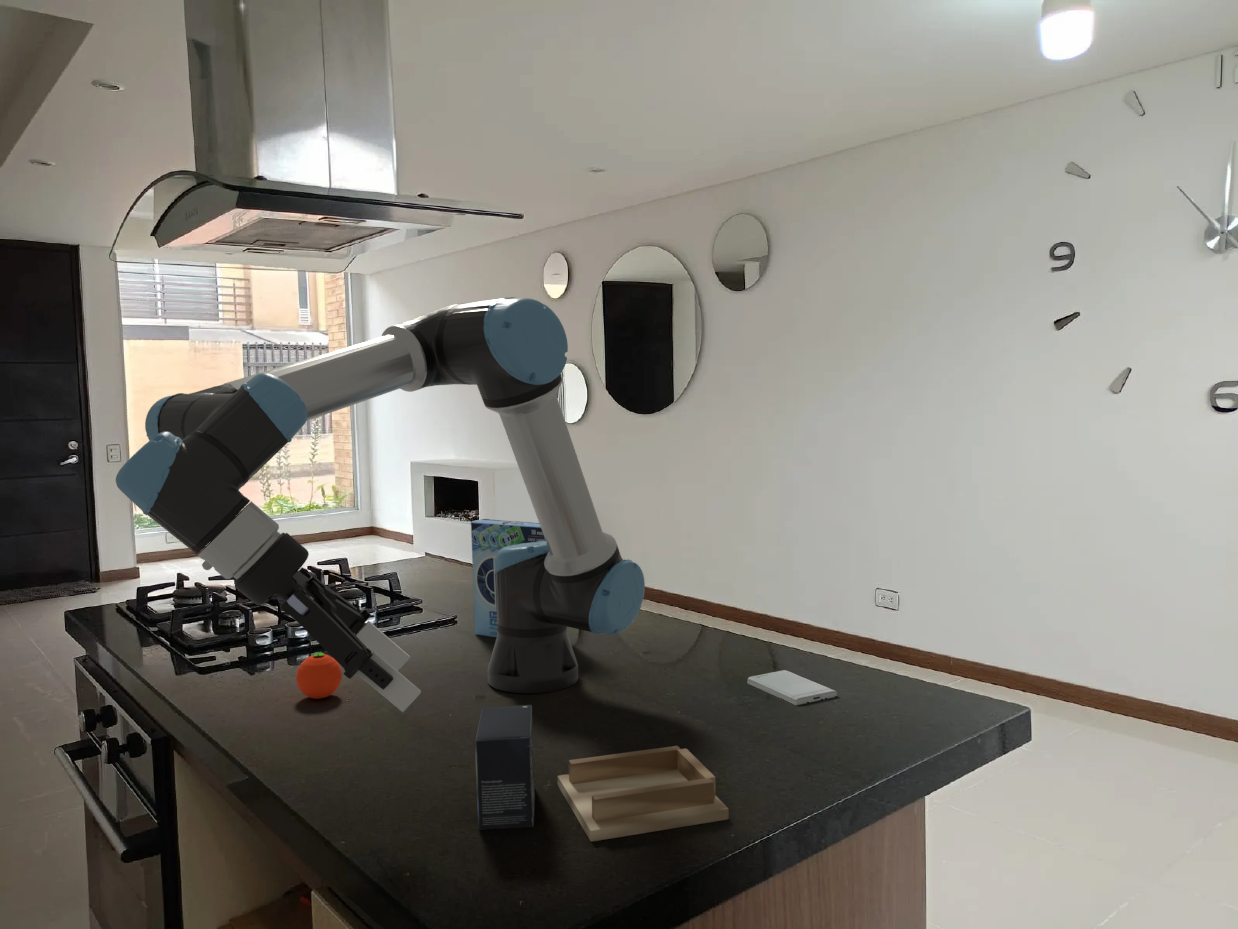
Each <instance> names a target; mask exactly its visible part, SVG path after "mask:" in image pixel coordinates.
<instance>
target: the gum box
mask: <svg viewBox="0 0 1238 929" xmlns="http://www.w3.org/2000/svg"><path fill="white" fill-rule="evenodd" d="M470 527H471V528H470V530H471V532H470V536H471V554H472V555H471V557H472V559H471V560H472V582H473V583H472V585H473V586H472V587H473V590H472V591H473V609H474V610H473V611H474V612H473V613H474V616H473V617H474V634H475V635H478V636H484V637H490V638H496V639H497V608H496V583H495V570H496V556H497V553H498V552H499V550H501V549H502V548H504V547H507V546H512V545H517V544H523V543H531V542H540V541H546V540H545V537H544V534H543V532H542V529H541V526H540V523H539V522H531V521H516V520H515V521H514V520H501V519H489V518H483V519H477V520H473V521H470Z"/></svg>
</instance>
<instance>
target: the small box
mask: <svg viewBox="0 0 1238 929" xmlns="http://www.w3.org/2000/svg"><path fill="white" fill-rule="evenodd" d="M533 733H534V732H533V706H532V704H523V705H509V706H507V705H506V706H495V707H494V706H492V707H489V706H488V707H482V708H481V710H480V715H479V722H478V727H477V732H476V736H475V737H476V738H475V778H476V779H475V781H476V784H475V785H476V803H477V804H476V807H477V823H478V824H477V825H478V830H481V831H484V830H502V829H518V828H532V827H534V826H535V812H536V811H535V807H536V806H535V802H536V790H535V788H536V785H535V784H536V782H535V766H534V765H535V764H534V736H533V735H534V734H533Z"/></svg>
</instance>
